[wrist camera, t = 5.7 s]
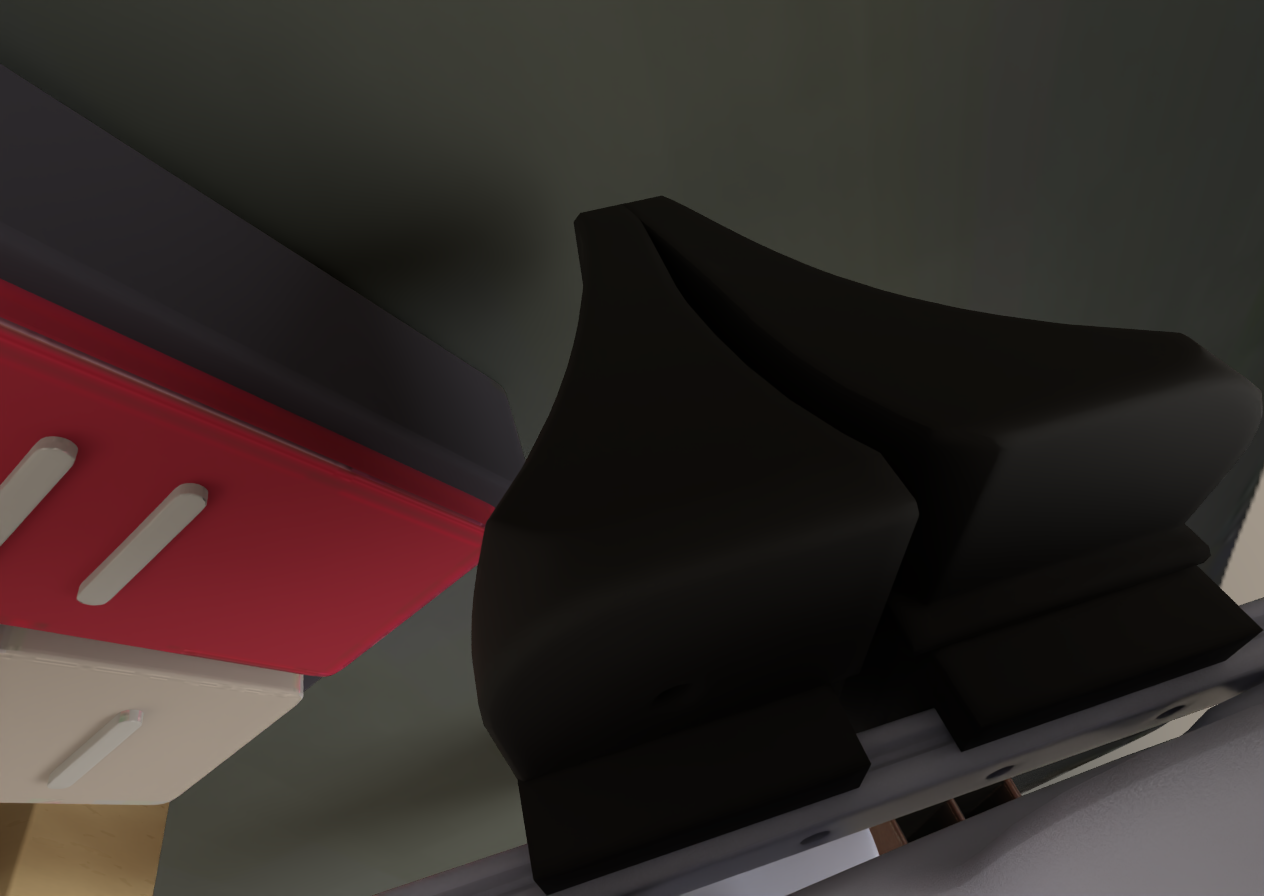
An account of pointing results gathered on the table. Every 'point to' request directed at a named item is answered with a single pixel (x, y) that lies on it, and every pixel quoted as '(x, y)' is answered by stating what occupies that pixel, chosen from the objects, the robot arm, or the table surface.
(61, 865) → the birch block
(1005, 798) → the letter holder
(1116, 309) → the table surface
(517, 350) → the table surface
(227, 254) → the calculator
